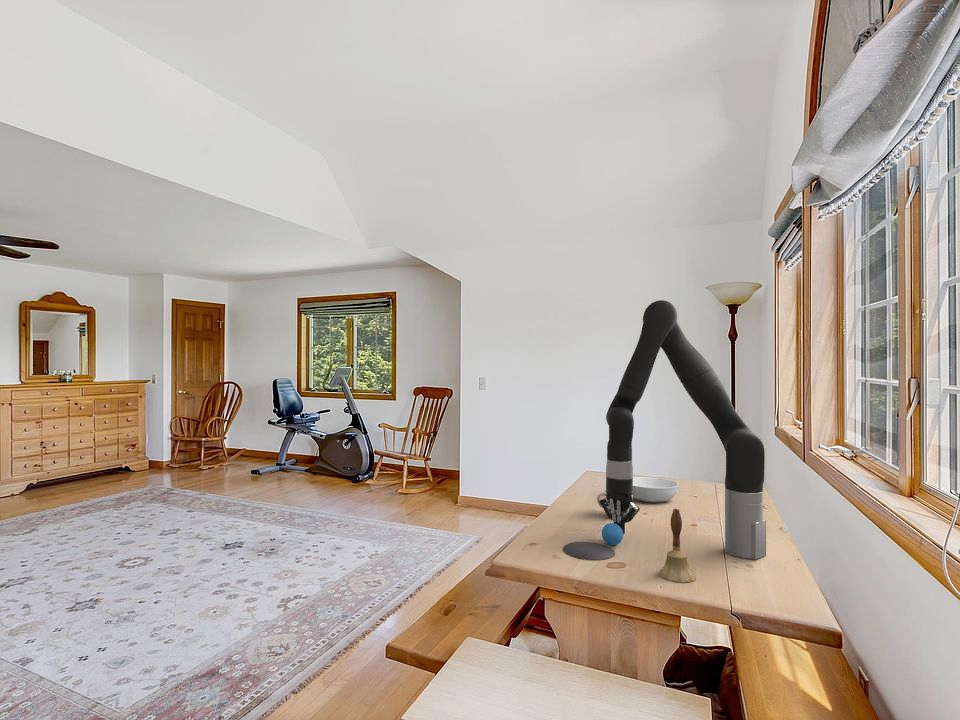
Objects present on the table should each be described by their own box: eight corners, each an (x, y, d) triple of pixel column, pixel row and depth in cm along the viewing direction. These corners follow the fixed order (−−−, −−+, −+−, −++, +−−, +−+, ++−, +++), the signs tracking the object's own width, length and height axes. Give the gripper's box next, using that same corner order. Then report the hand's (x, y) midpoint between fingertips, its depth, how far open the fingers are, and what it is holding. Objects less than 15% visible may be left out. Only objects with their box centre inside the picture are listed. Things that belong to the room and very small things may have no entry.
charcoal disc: (626, 552, 139) (626, 552, 139) (591, 564, 131) (591, 563, 131) (586, 539, 151) (586, 538, 151) (552, 548, 142) (552, 548, 142)
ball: (629, 526, 146) (616, 527, 142) (625, 547, 146) (613, 549, 142) (611, 519, 150) (599, 520, 146) (608, 539, 150) (595, 541, 146)
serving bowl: (675, 495, 205) (675, 478, 205) (681, 509, 185) (681, 489, 185) (621, 491, 211) (621, 474, 211) (621, 504, 191) (621, 485, 191)
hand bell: (654, 577, 123) (654, 510, 123) (663, 566, 130) (663, 503, 130) (691, 586, 118) (691, 516, 119) (698, 574, 125) (698, 508, 126)
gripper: (646, 477, 146) (646, 539, 146) (609, 470, 157) (609, 527, 157) (630, 481, 142) (630, 544, 142) (593, 473, 153) (592, 532, 152)
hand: (619, 535), depth 149 cm, fingers closed
